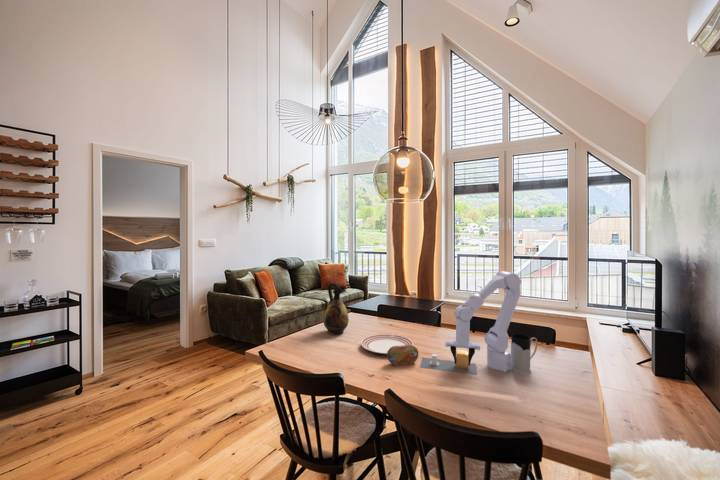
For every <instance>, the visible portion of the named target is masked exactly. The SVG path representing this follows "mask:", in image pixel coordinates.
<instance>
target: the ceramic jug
mask: <svg viewBox="0 0 720 480" xmlns="http://www.w3.org/2000/svg"><path fill="white" fill-rule="evenodd" d="M332 287H334V289H333V290H332ZM327 289H328V290H327V292H328V297H329V303H328V306H327V307H326V309H325V311H324V315H323V318H322V319H323V321H322V322H323V325H324V327H325V328H326V330H327V333H328V334H329V335H332V336H339V335H342V334H344V331H345V330H346V328H347V327H348V325H349V322H350V318H349V312H348V309H347V308H346V306H345V304H344V302H343V301H342V299H341V296H340V295H341V294H344V293H346V292H347V290H346V288H345V287H344V286H343V285H341V286H339V284H338V283H336V282H331V283H329V285H328V287H327Z"/></svg>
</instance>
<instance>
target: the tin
mask: <svg viewBox="0 0 720 480" xmlns="http://www.w3.org/2000/svg"><path fill="white" fill-rule="evenodd" d="M386 358H387V361H388V362H389V363H390V364H391V365H392V366H402V365H410V364H414V363H415V362H416V361H417V360H418V358H419V350H418V349H417V347H416V346H414V345H413V346H412V345H400V346H393V347H391V348H390V349H389V350H388V352H387V354H386Z"/></svg>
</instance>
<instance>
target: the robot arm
mask: <svg viewBox="0 0 720 480" xmlns="http://www.w3.org/2000/svg"><path fill="white" fill-rule="evenodd" d="M521 284H522V280H521V278H520V277H519V275H518V274H517V273H515V272H514V273H513V272H509V271H505V270H500V271H498V272H496V274H495V275H493V276H492V278H491V280H490V281H489V282H488V283H486V285H485V286H484V287H483V288H482V289H481V290H480V291H479V292H478V293H475V294H474V293H473V294H470V295H469V298H468V299H466V301H464V302H462V303H461V305H458V306H457V307H456V308H455V309H454V311H453V315H454V316H455V318H456V321H455V340H454V341H453V340H446V341H445V347H446V348H448V347H450V348H449V350H450V352H451V354H452V357H453V361H455V364H456V351H457V348H459V349H468V354H469V363H468V366H470V363H472V362H471V361H472V359H473V357H474V356H475V353H476V351H481V345H480V344H478V343H472V342H470V336H471V335H470V333H471V332H470V331H471V330H470V328H471V325H470V324H471V322H470V321H471V319H473V315H474V313H476V312H477V310H478V309H479V308H481V307H482V306H483V305H484V301H485V299H486V298H488V297H489V296H490V295H492V294H493V293H494V292H496V291H497V290H498V289H503V291H504V292H505V296H504V299H503V302H502V304H501V307H500V310H499V312H498V315H497V317H496V319H495V323H494V325H493V326H492V327H490V328H489V331H488V332H487V333H486V334H485V336H484V342H485V344H486V348H487V349H486V366H487V367H488V368H489V369H492V370H497V371H501V372H504V373H506V372H507V371H511V352H510V353H509V352H507V351H506V350H508V347H509V343H508V342H509V338H510V337H509V334H508V330H509V326H510V323H511V321H512V318H513V315H514V314H515V310H516V308H517V305H518V303H519V302H518V301H519V299H520V296H521ZM511 372H512V371H511Z"/></svg>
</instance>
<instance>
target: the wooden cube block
mask: <svg viewBox="0 0 720 480" xmlns="http://www.w3.org/2000/svg"><path fill="white" fill-rule="evenodd" d="M468 363H469V350H462V349H456V369H462V370H468Z"/></svg>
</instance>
